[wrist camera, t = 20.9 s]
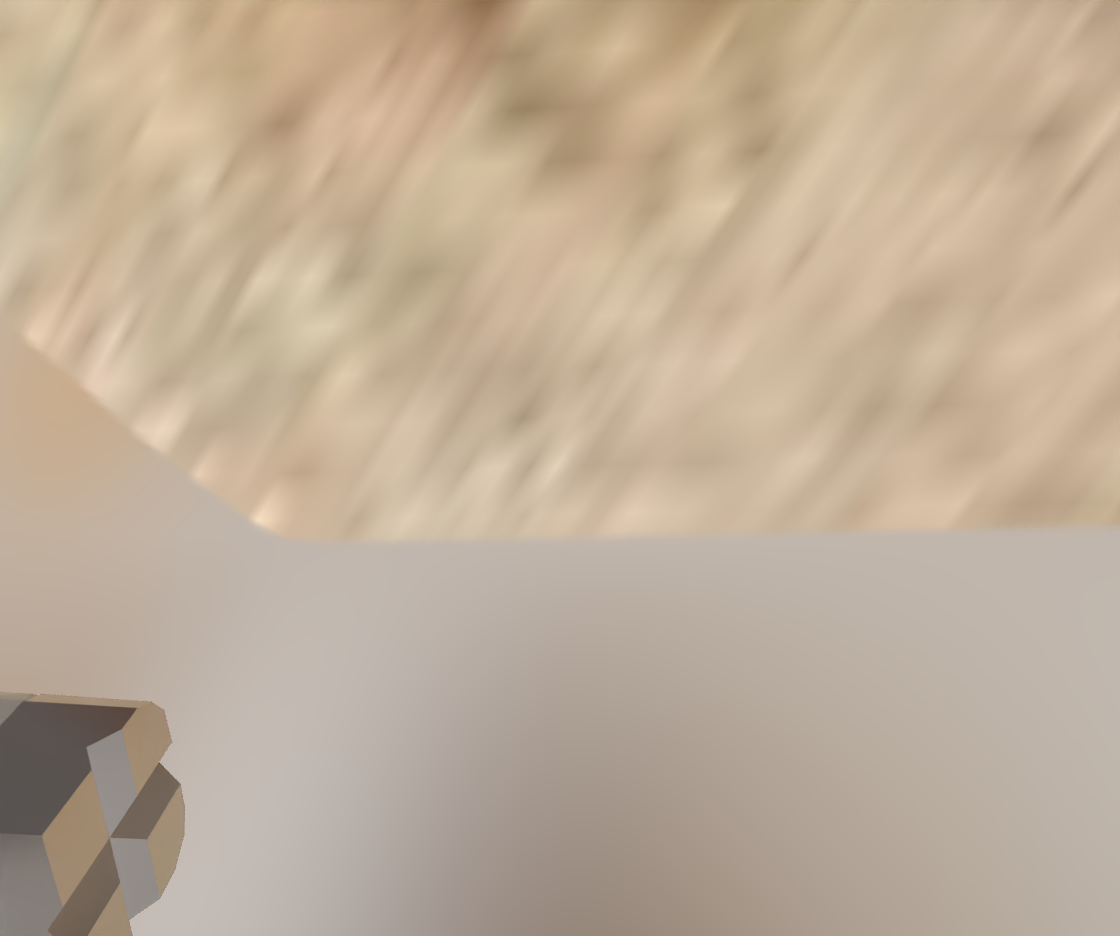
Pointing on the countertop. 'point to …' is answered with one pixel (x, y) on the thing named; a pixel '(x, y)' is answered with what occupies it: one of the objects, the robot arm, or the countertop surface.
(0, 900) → the robot arm
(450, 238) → the countertop surface
